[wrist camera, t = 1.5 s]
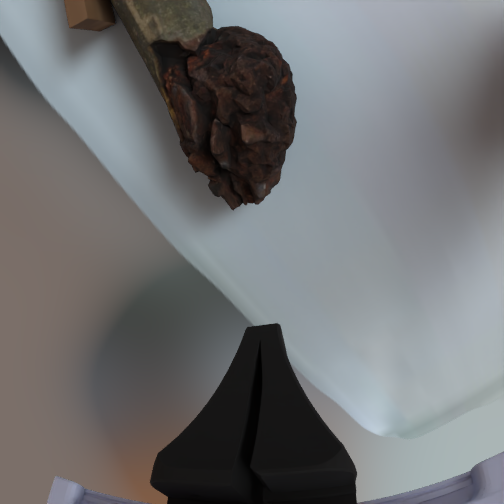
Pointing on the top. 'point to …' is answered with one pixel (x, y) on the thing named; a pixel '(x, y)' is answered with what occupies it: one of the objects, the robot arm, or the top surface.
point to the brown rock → (218, 93)
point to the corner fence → (89, 14)
